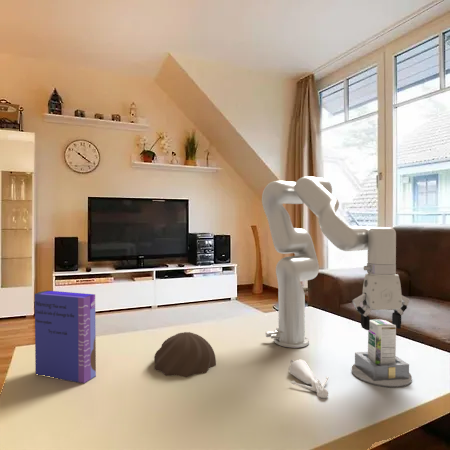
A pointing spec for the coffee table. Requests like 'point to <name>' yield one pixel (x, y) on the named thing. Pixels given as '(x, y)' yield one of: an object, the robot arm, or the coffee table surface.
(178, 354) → the decorative dome
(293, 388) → the coffee table surface
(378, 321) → the syrup box
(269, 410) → the coffee table surface
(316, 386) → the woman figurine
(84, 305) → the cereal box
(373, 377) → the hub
